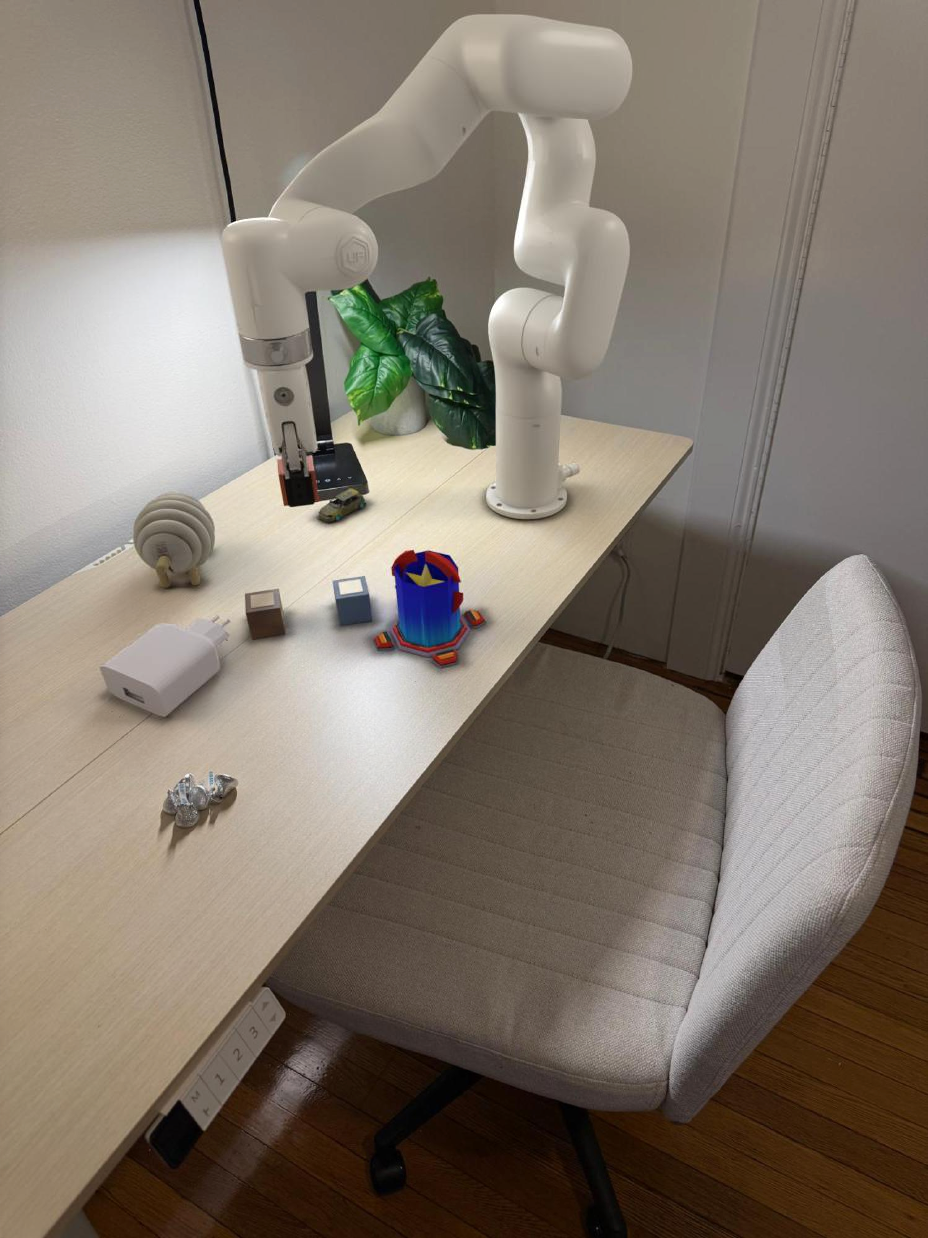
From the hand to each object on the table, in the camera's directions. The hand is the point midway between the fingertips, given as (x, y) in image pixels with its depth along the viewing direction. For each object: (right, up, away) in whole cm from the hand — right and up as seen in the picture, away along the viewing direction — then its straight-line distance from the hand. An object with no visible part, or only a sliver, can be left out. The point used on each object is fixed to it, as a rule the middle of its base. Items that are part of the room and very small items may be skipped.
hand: (300, 493), depth 100 cm
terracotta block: (0, 0, 0) cm, 0 cm away
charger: (-14, -21, -1) cm, 25 cm away
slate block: (+6, -15, +6) cm, 17 cm away
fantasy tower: (+16, -17, +3) cm, 23 cm away
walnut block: (-5, -16, +4) cm, 18 cm away
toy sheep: (-20, -9, +15) cm, 26 cm away
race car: (+1, +1, +27) cm, 27 cm away
